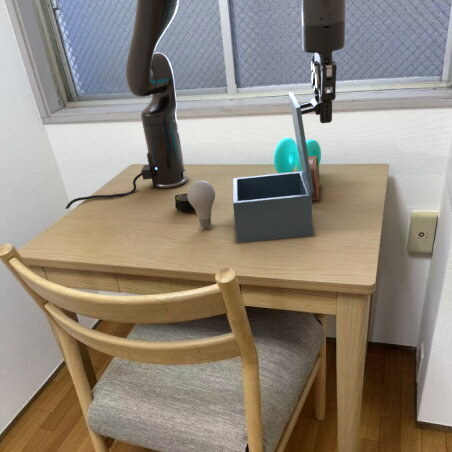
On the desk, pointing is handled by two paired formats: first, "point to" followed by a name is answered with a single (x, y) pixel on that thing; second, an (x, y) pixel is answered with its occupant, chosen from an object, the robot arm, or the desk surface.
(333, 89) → the robot arm
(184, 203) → the tape measure
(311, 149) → the turquoise spool
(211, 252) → the desk surface
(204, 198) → the lightbulb
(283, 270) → the desk surface
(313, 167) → the tin
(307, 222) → the compartment
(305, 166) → the lid
